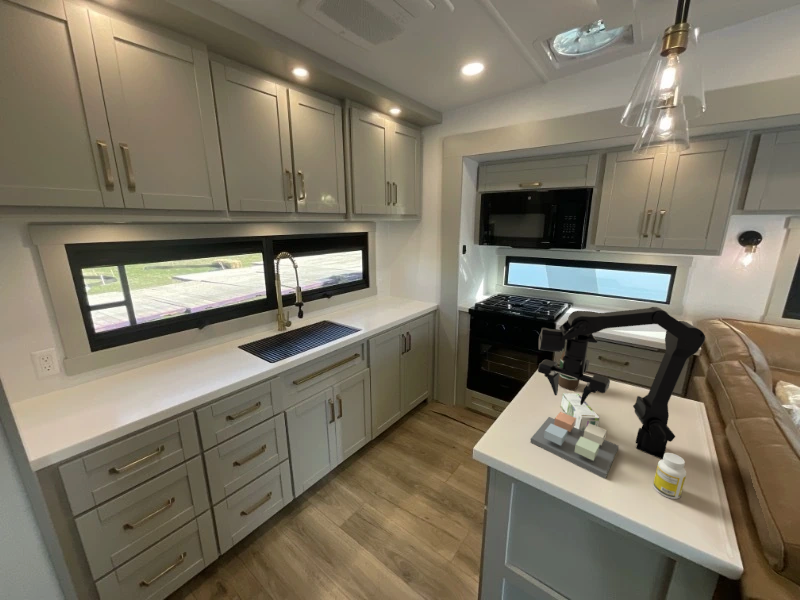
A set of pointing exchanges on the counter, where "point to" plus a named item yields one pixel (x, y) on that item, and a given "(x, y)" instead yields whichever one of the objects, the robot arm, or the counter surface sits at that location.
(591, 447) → the sage green key
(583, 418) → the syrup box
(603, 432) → the cream key
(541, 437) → the keypad base
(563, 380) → the beer bottle
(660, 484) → the supplement bottle
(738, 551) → the counter surface
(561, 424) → the terracotta key
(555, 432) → the slate blue key
